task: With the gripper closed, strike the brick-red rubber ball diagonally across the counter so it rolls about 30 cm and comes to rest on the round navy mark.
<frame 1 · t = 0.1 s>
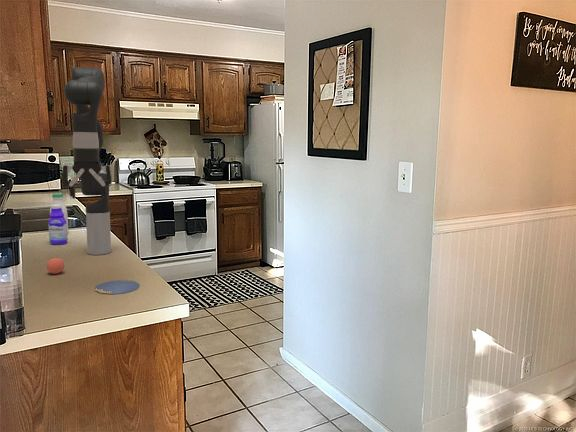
hand: (88, 197, 153), 29 cm above the table, tool pointing down, fingers open, 8 cm apart
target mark: (117, 287, 156), on the table
bottle: (58, 244, 213), on the table
ball: (55, 265, 169), on the table
milk bottle: (59, 235, 231), on the table
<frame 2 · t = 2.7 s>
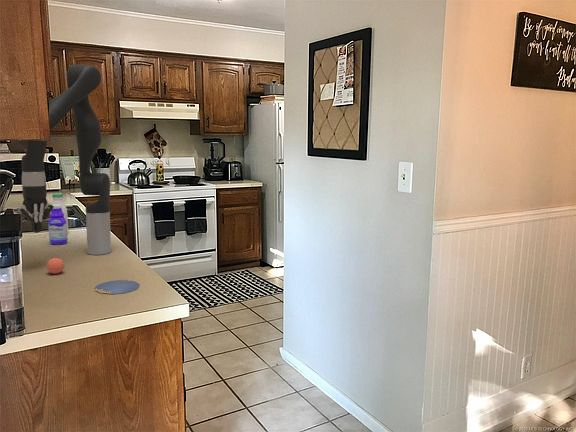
hand: (37, 232, 171), 14 cm above the table, tool pointing down, fingers closed
nothing on the table moved.
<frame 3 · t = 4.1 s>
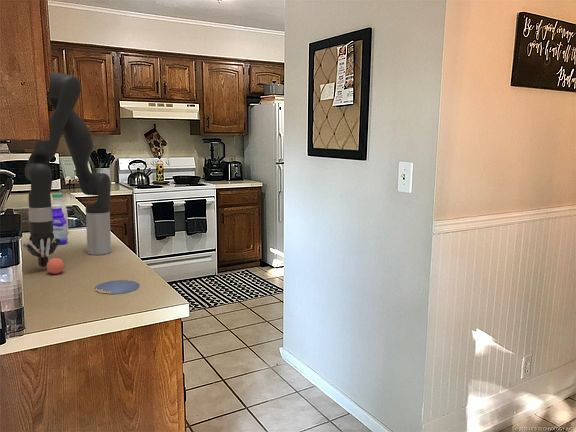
hand: (43, 266, 172), 2 cm above the table, tool pointing down, fingers closed
nothing on the table moved.
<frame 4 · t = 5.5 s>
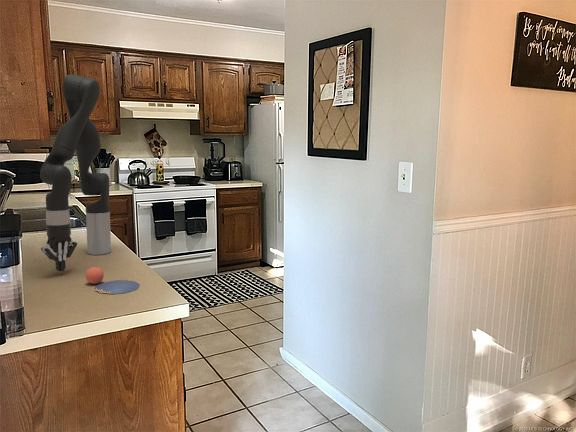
hand: (61, 270, 168), 1 cm above the table, tool pointing down, fingers closed
ball: (94, 275, 159), on the table
everything else where it was.
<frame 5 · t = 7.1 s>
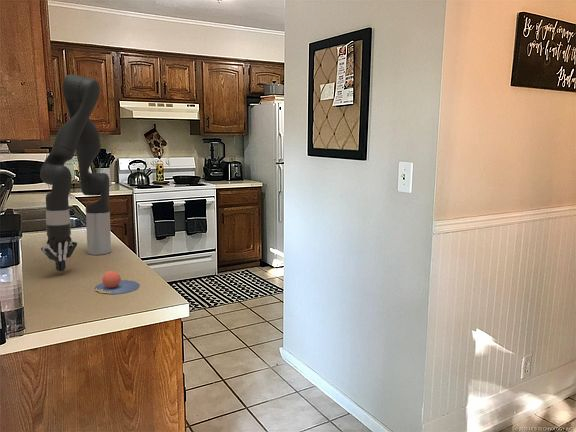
hand: (61, 270, 168), 1 cm above the table, tool pointing down, fingers closed
ball: (111, 279, 155), on the table
everything else where it was.
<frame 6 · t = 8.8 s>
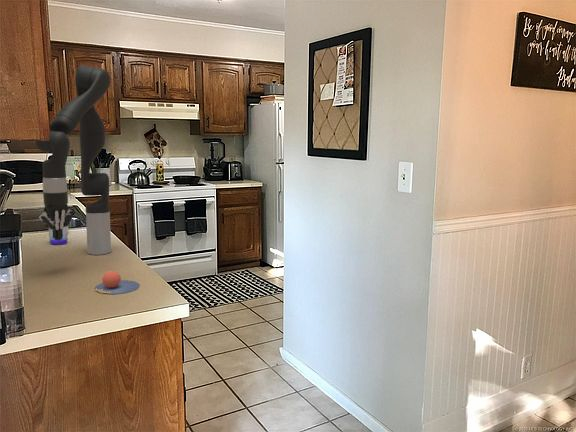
hand: (58, 239, 166), 13 cm above the table, tool pointing down, fingers closed
nothing on the table moved.
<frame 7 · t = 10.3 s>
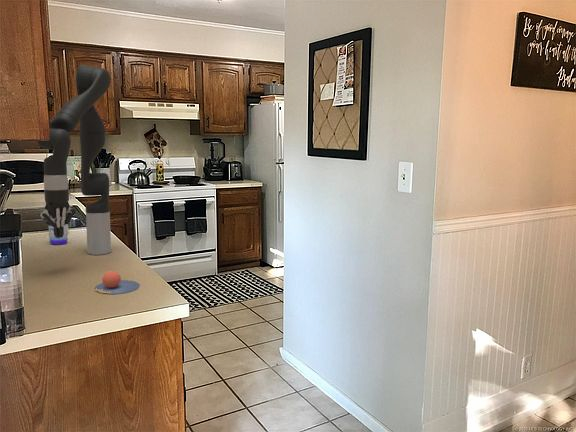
hand: (59, 237, 165), 13 cm above the table, tool pointing down, fingers closed
nothing on the table moved.
at the end: ball 1.7 cm from the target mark (horizontally); ball at rest at the end (0.0 cm/s); ball moved 28.6 cm from its start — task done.
